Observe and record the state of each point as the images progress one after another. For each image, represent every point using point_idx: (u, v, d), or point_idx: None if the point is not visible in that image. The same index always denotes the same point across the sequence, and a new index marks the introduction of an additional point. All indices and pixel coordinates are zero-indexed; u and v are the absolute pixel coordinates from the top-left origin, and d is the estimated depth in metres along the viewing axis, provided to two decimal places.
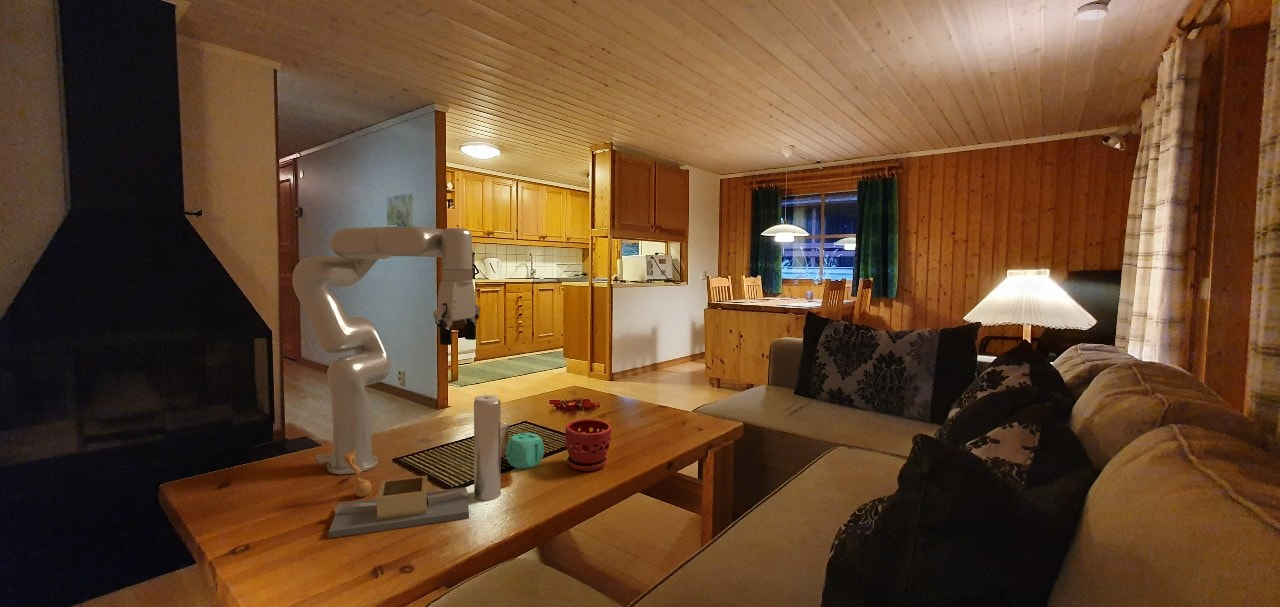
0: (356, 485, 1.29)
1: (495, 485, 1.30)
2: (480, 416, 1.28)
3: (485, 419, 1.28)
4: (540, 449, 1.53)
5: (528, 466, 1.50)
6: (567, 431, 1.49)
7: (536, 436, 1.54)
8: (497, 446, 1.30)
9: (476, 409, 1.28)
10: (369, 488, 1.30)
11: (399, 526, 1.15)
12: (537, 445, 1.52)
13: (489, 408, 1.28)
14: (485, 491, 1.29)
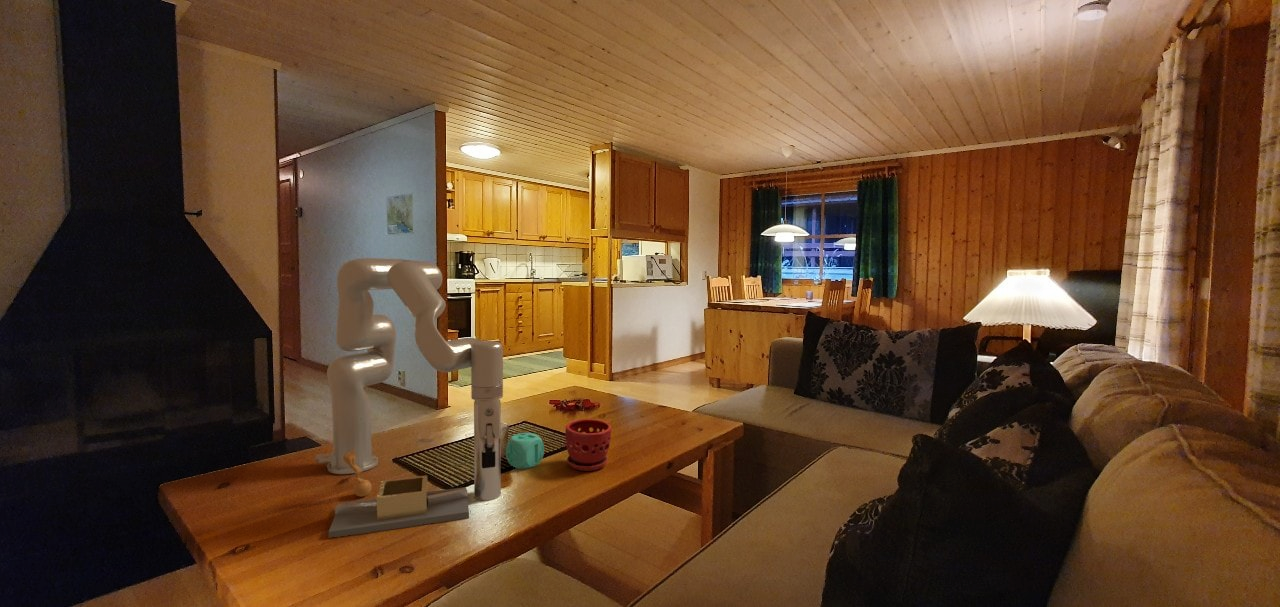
0: (356, 485, 1.29)
1: (495, 485, 1.30)
2: None
3: None
4: (540, 449, 1.53)
5: (528, 466, 1.50)
6: (567, 431, 1.49)
7: (536, 436, 1.54)
8: (497, 446, 1.30)
9: (476, 409, 1.28)
10: (369, 488, 1.30)
11: (399, 526, 1.15)
12: (537, 445, 1.52)
13: None
14: (485, 491, 1.29)
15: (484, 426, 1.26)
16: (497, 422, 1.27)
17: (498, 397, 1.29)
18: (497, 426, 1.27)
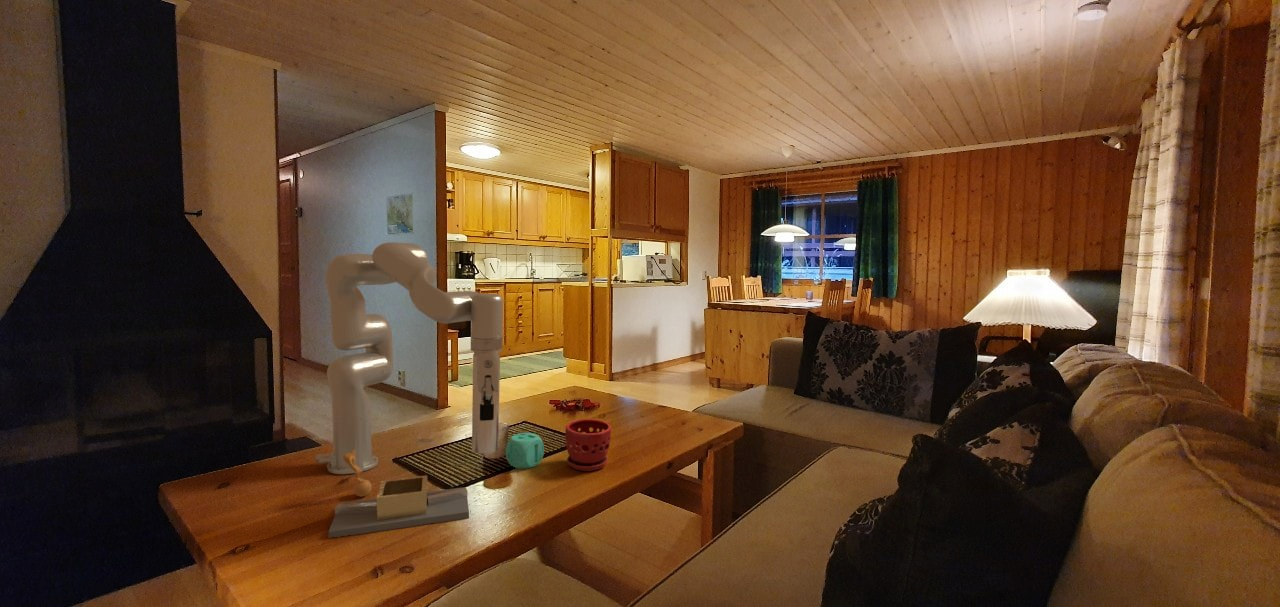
0: (356, 485, 1.29)
1: (493, 438, 1.30)
2: None
3: None
4: (540, 449, 1.53)
5: (528, 466, 1.50)
6: (567, 431, 1.49)
7: (536, 436, 1.54)
8: (496, 399, 1.30)
9: (475, 361, 1.27)
10: (369, 488, 1.30)
11: (399, 526, 1.15)
12: (537, 445, 1.52)
13: None
14: (482, 444, 1.29)
15: (483, 378, 1.25)
16: (496, 374, 1.27)
17: (497, 350, 1.28)
18: (496, 378, 1.27)
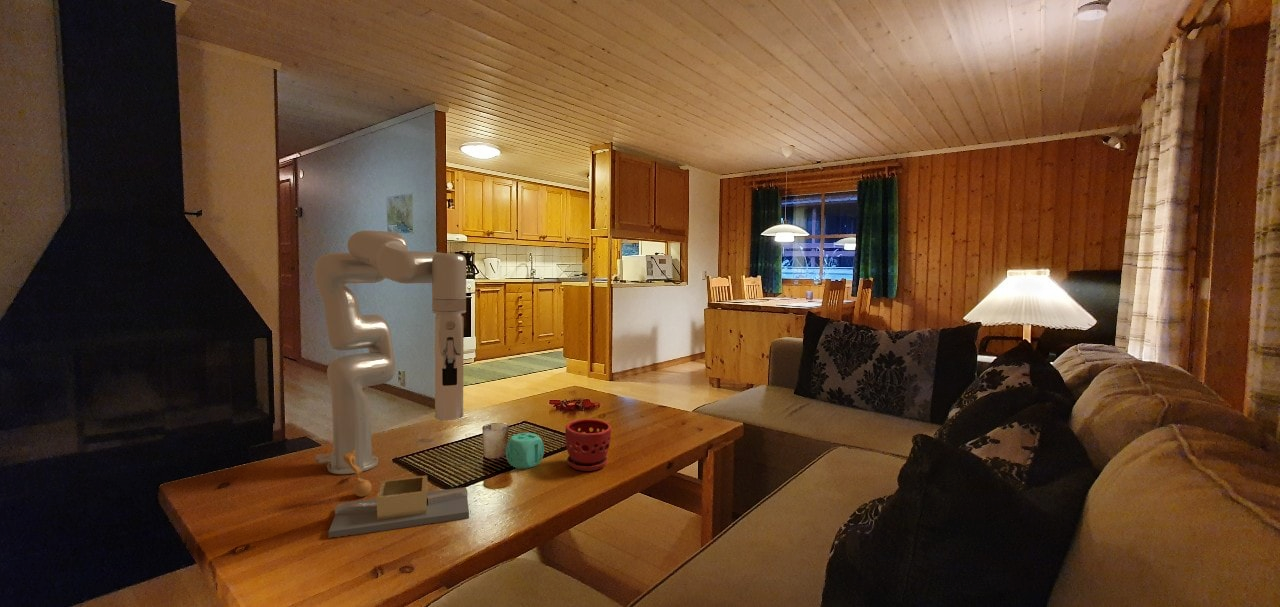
0: (356, 485, 1.29)
1: (457, 404, 1.24)
2: None
3: None
4: (540, 449, 1.53)
5: (528, 466, 1.50)
6: (567, 431, 1.49)
7: (536, 436, 1.54)
8: (459, 364, 1.24)
9: (437, 323, 1.22)
10: (369, 488, 1.30)
11: (399, 526, 1.15)
12: (537, 445, 1.52)
13: None
14: (446, 410, 1.23)
15: (445, 340, 1.20)
16: (459, 336, 1.21)
17: (460, 311, 1.23)
18: (459, 341, 1.21)
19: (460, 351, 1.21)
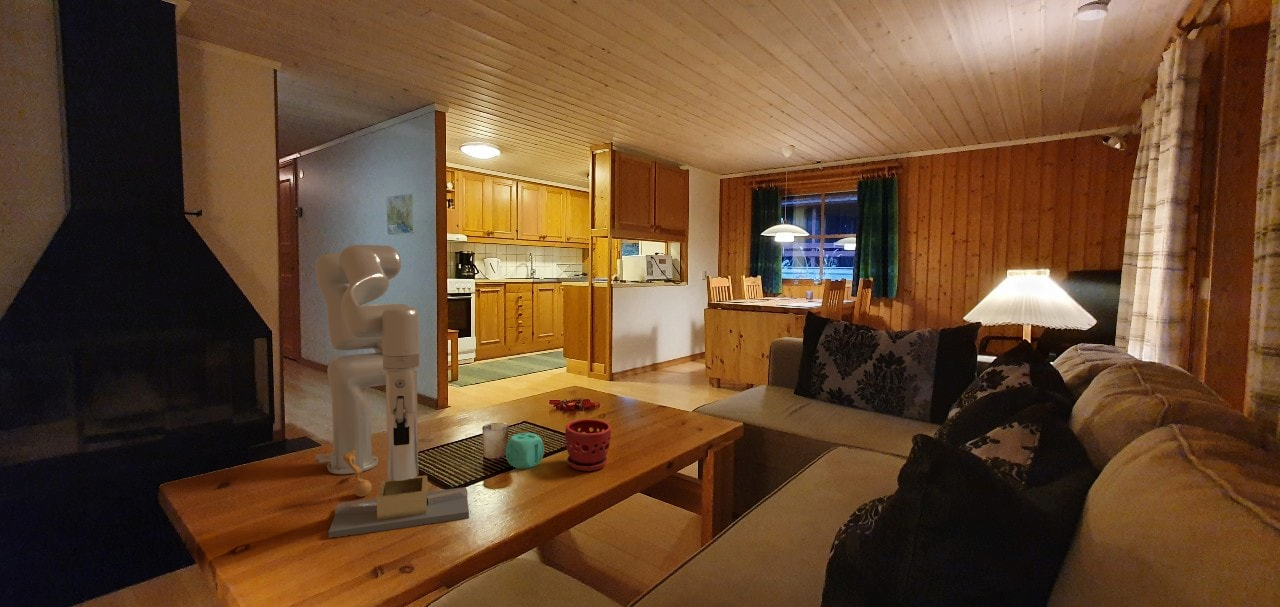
0: (356, 485, 1.29)
1: (410, 464, 1.19)
2: None
3: None
4: (540, 449, 1.53)
5: (528, 466, 1.50)
6: (567, 431, 1.49)
7: (536, 436, 1.54)
8: (412, 422, 1.19)
9: (387, 381, 1.17)
10: (369, 488, 1.30)
11: (399, 526, 1.15)
12: (537, 445, 1.52)
13: None
14: (398, 471, 1.18)
15: (394, 399, 1.15)
16: (410, 395, 1.16)
17: (412, 368, 1.18)
18: (410, 399, 1.16)
19: (411, 410, 1.17)
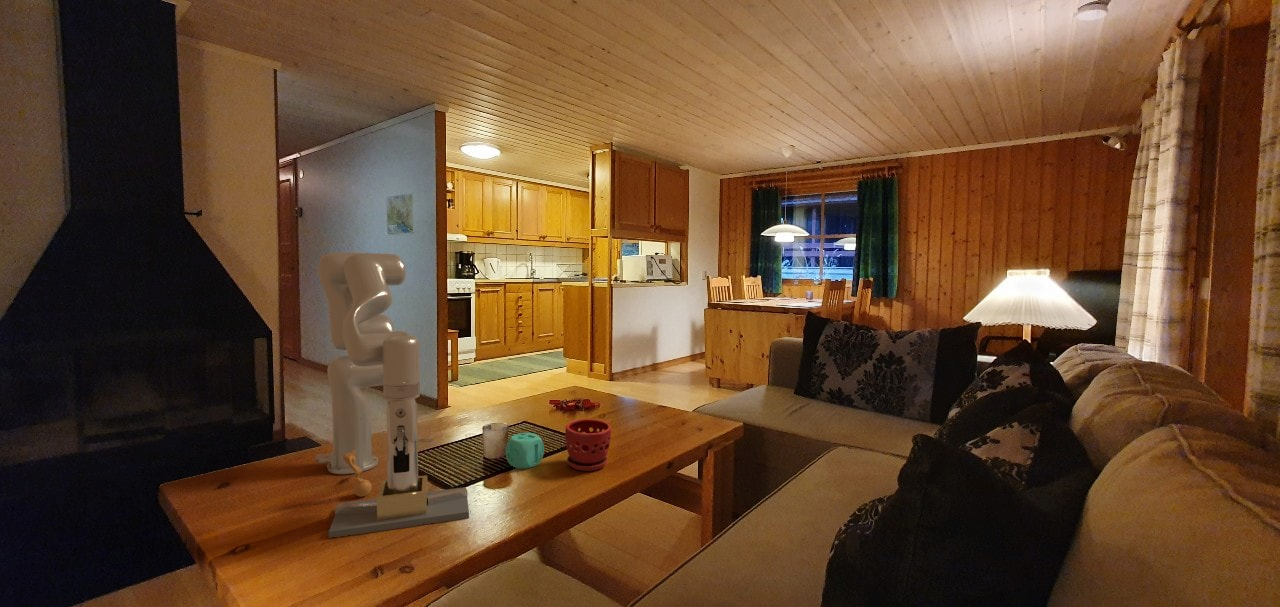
0: (356, 485, 1.29)
1: None
2: None
3: None
4: (540, 449, 1.53)
5: (528, 466, 1.50)
6: (567, 431, 1.49)
7: (536, 436, 1.54)
8: (412, 454, 1.20)
9: (388, 414, 1.18)
10: (369, 488, 1.30)
11: (399, 526, 1.15)
12: (537, 445, 1.52)
13: None
14: None
15: (395, 428, 1.16)
16: (410, 424, 1.17)
17: (412, 397, 1.18)
18: (410, 428, 1.17)
19: (412, 439, 1.17)
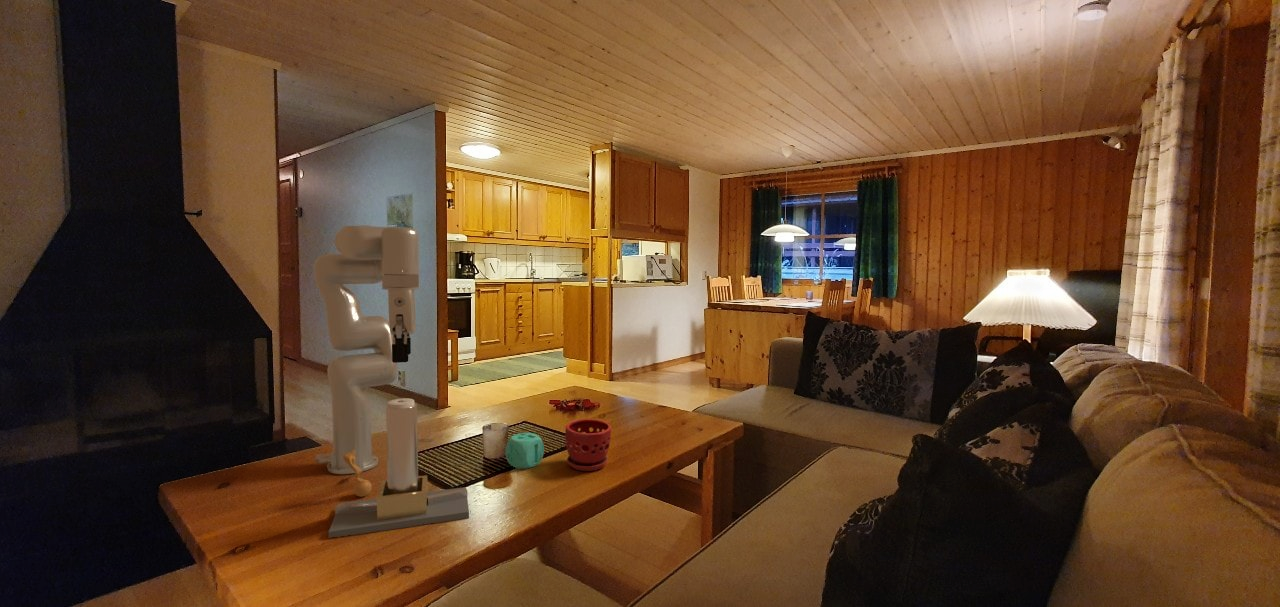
0: (356, 485, 1.29)
1: None
2: (392, 421, 1.18)
3: (397, 425, 1.18)
4: (540, 449, 1.53)
5: (528, 466, 1.50)
6: (567, 431, 1.49)
7: (536, 436, 1.54)
8: (412, 454, 1.20)
9: (388, 414, 1.18)
10: (369, 488, 1.30)
11: (399, 526, 1.15)
12: (537, 445, 1.52)
13: (402, 413, 1.18)
14: None
15: (394, 317, 1.14)
16: (409, 314, 1.15)
17: (411, 287, 1.17)
18: (409, 318, 1.15)
19: (411, 329, 1.16)
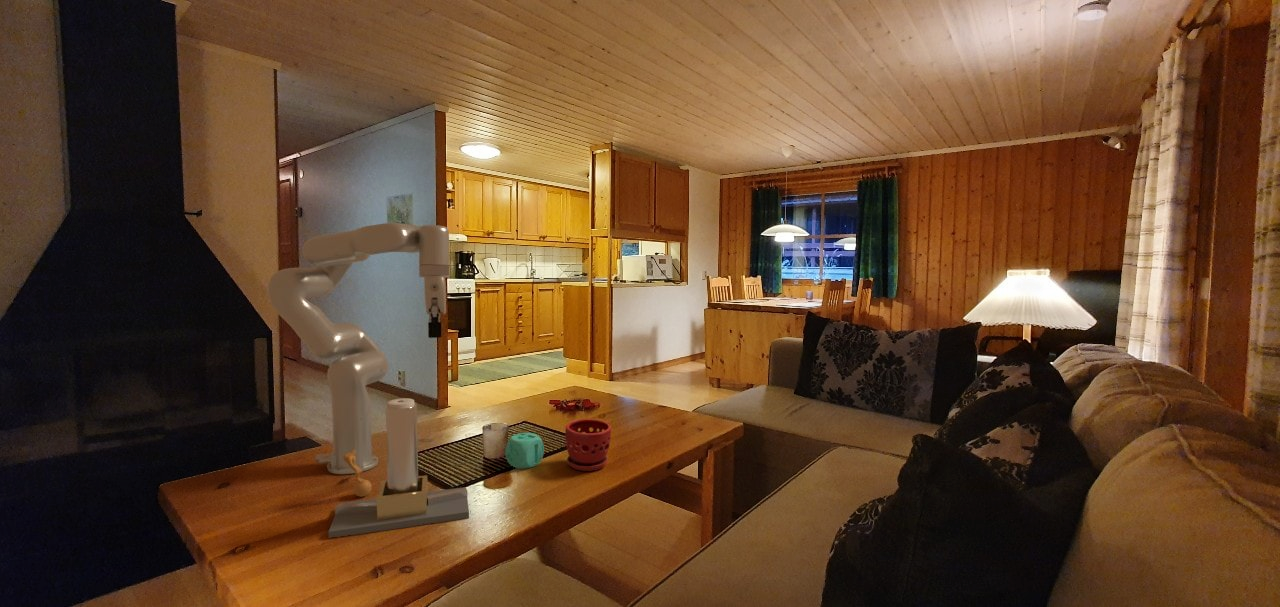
0: (356, 485, 1.29)
1: None
2: (392, 421, 1.18)
3: (397, 425, 1.18)
4: (540, 449, 1.53)
5: (528, 466, 1.50)
6: (567, 431, 1.49)
7: (536, 436, 1.54)
8: (412, 454, 1.20)
9: (388, 414, 1.18)
10: (369, 488, 1.30)
11: (399, 526, 1.15)
12: (537, 445, 1.52)
13: (402, 413, 1.18)
14: None
15: (430, 300, 1.37)
16: (442, 297, 1.39)
17: (444, 275, 1.40)
18: (442, 301, 1.39)
19: (443, 310, 1.39)
